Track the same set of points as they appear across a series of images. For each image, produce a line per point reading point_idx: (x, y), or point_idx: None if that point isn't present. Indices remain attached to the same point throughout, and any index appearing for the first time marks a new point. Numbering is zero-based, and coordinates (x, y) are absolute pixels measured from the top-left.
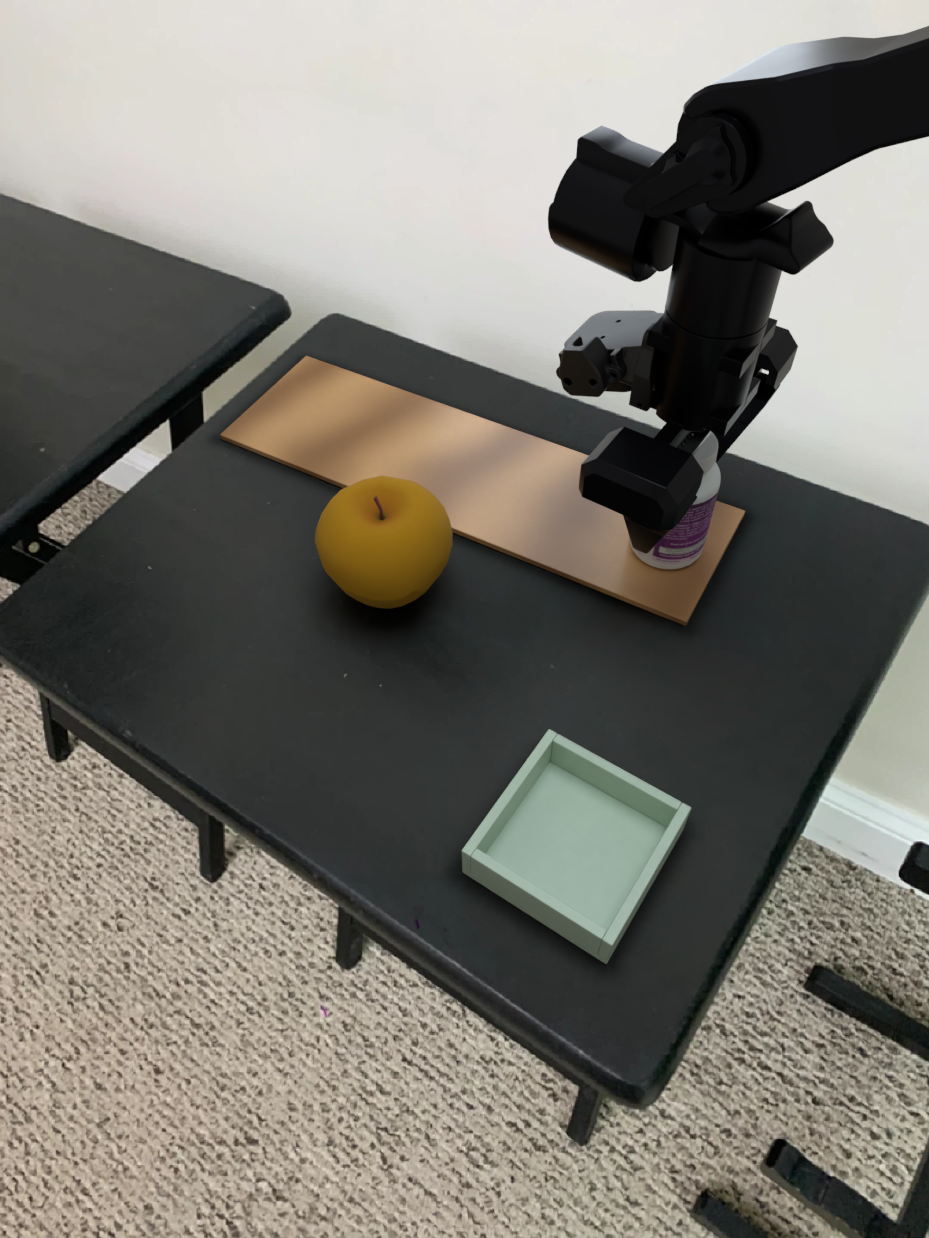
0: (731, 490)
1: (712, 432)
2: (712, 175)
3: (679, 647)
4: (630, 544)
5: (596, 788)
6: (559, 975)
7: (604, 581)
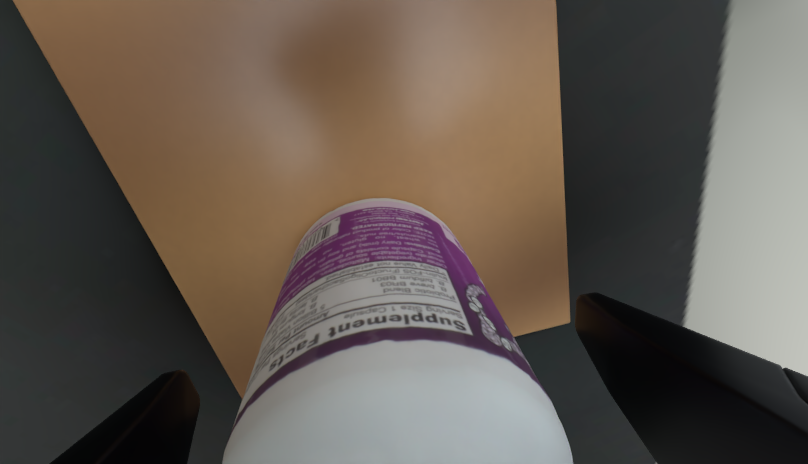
0: (620, 259)
1: (712, 455)
2: None
3: (204, 411)
4: (304, 235)
5: None
6: None
7: (179, 248)
